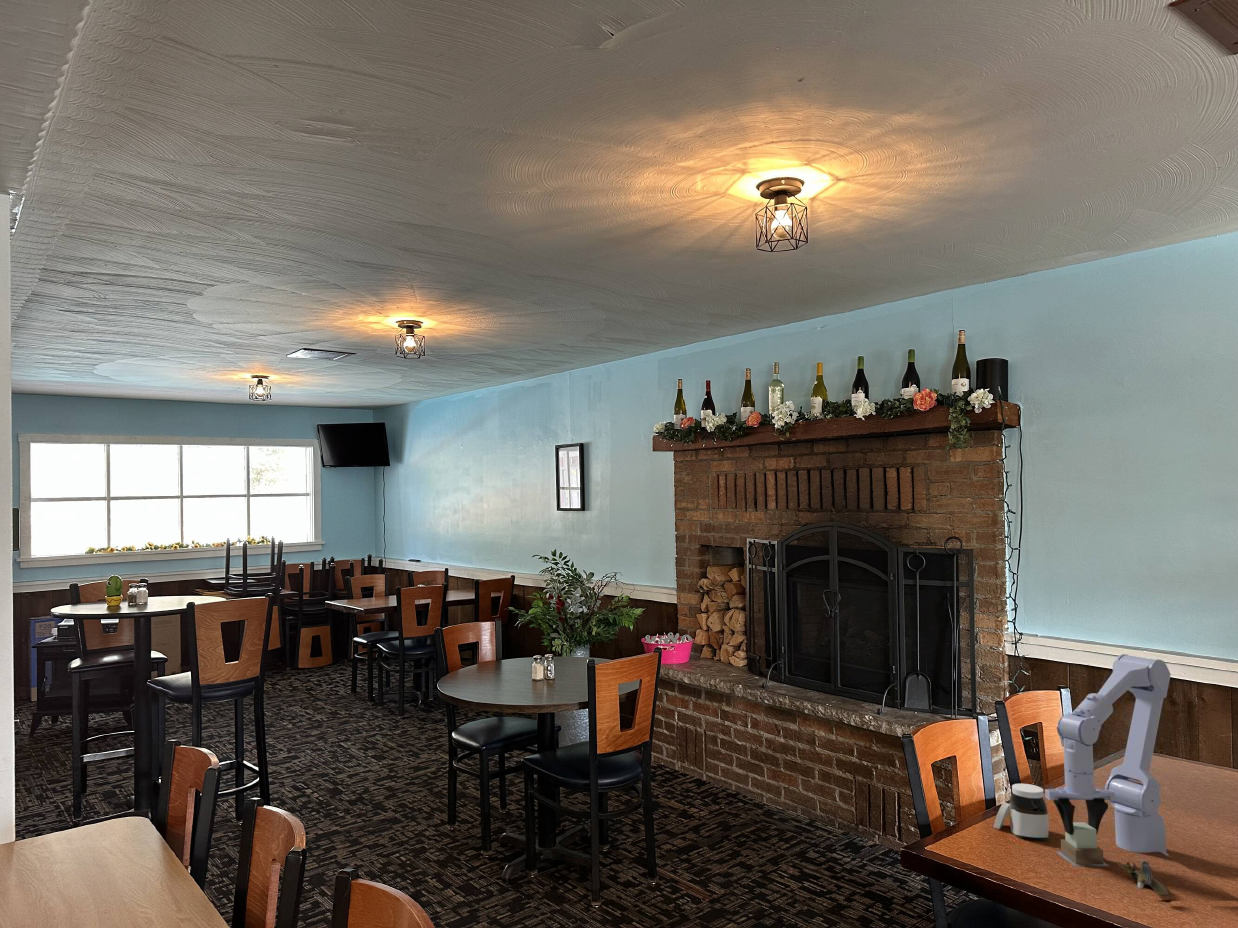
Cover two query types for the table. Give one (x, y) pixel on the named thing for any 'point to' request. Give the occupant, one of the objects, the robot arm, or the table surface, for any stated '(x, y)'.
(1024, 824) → the spread jar
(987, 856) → the table surface
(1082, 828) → the green block
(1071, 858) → the walnut block
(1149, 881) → the eagle figurine
